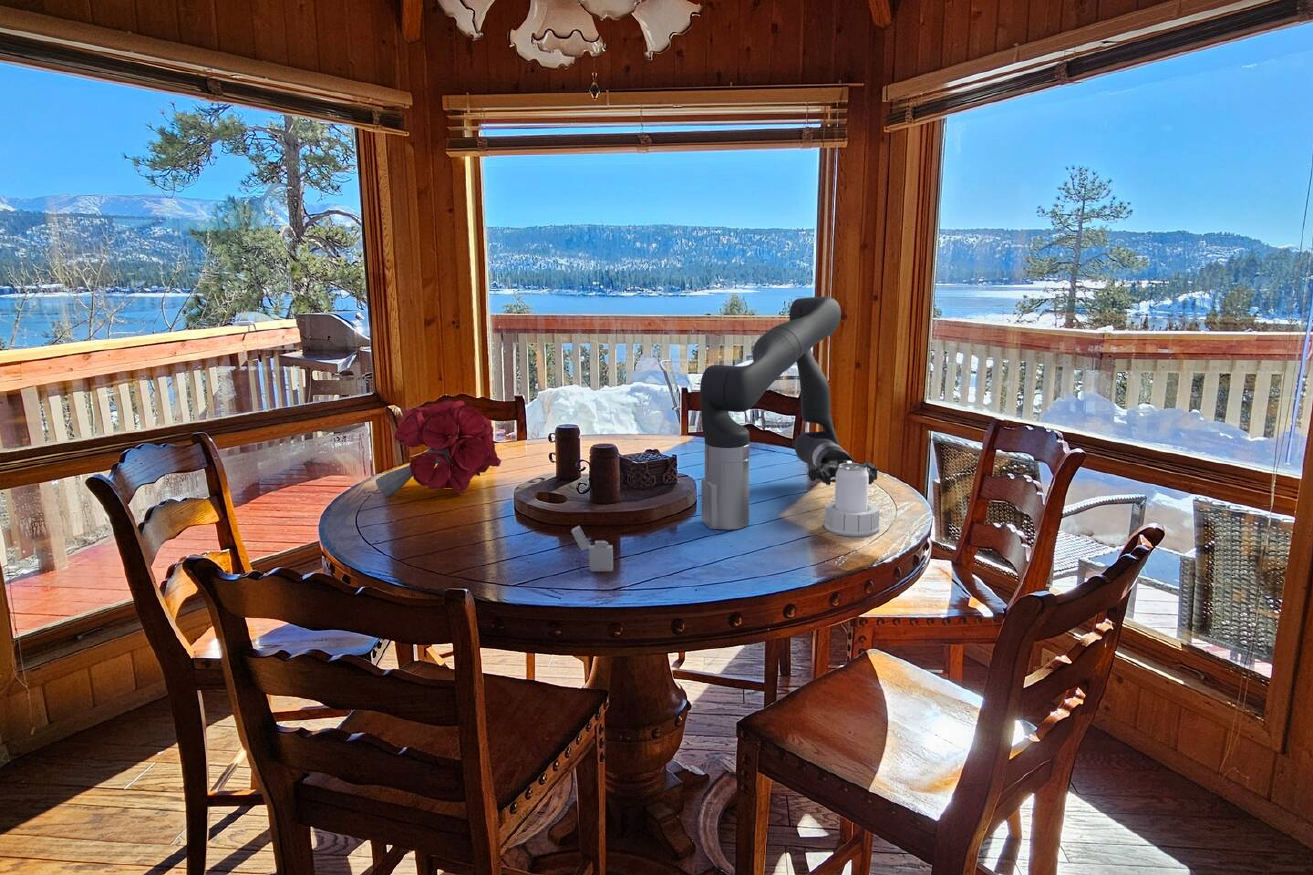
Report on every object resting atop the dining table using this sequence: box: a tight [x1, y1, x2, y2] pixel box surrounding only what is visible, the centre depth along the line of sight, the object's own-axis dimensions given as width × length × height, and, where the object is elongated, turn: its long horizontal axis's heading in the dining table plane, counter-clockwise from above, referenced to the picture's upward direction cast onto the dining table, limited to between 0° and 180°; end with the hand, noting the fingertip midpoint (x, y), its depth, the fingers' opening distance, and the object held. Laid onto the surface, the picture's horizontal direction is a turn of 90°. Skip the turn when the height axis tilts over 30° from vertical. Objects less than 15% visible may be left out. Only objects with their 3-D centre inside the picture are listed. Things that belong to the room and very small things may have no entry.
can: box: [834, 462, 869, 513], centre depth 162 cm, size 6×6×12 cm
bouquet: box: [375, 400, 502, 498], centre depth 192 cm, size 22×24×30 cm
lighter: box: [570, 525, 614, 572], centre depth 142 cm, size 7×2×8 cm, turn 88°
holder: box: [823, 500, 880, 538], centre depth 163 cm, size 11×11×4 cm
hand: (849, 480), depth 164 cm, fingers open, 8 cm apart
